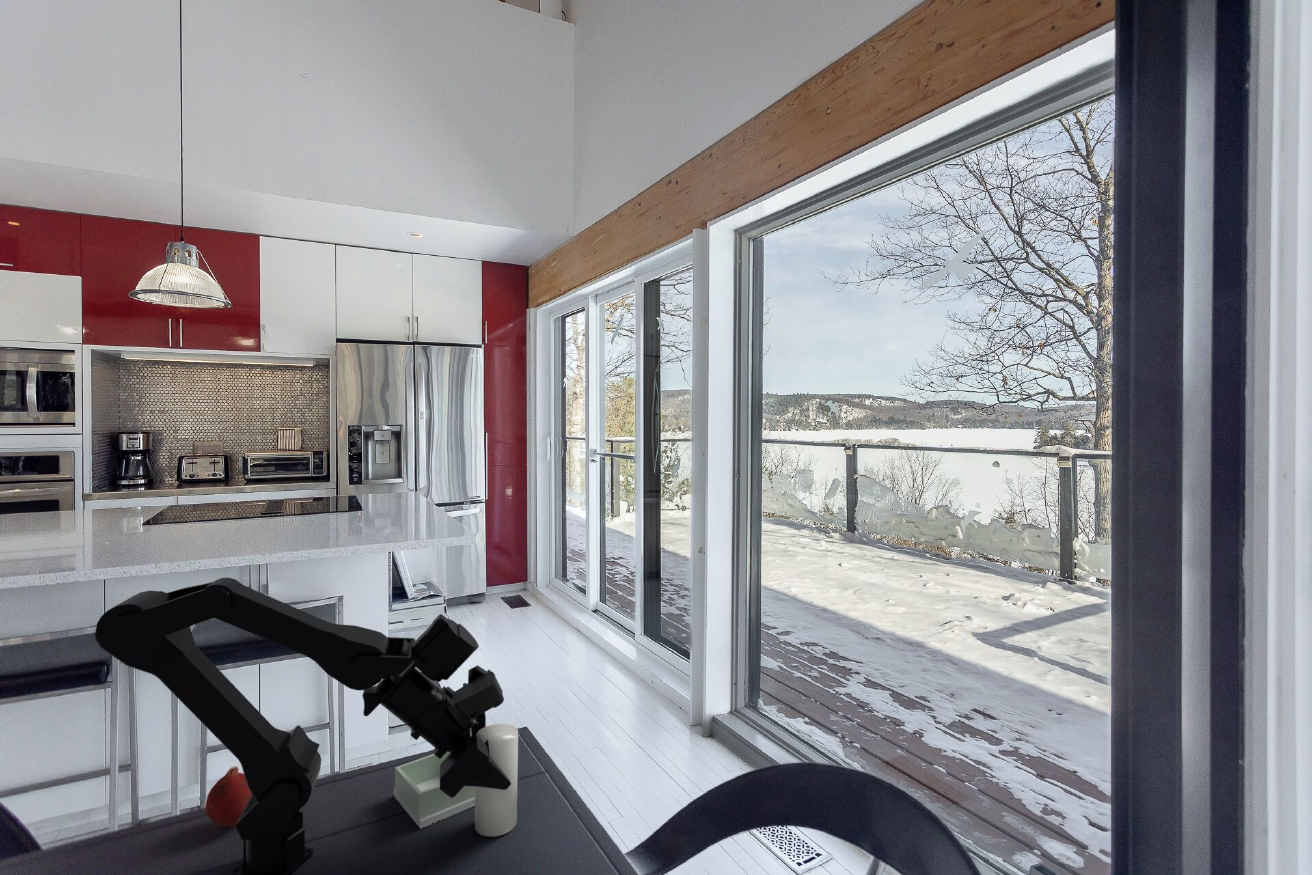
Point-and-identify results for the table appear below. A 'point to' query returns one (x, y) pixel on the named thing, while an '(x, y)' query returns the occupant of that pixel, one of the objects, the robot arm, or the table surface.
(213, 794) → the red rounded egg shape
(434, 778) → the pale green holder box
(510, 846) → the table surface
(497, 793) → the off-white round-top cylinder
